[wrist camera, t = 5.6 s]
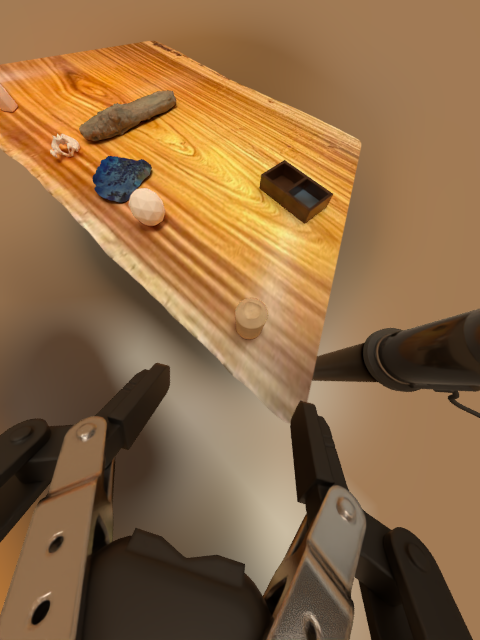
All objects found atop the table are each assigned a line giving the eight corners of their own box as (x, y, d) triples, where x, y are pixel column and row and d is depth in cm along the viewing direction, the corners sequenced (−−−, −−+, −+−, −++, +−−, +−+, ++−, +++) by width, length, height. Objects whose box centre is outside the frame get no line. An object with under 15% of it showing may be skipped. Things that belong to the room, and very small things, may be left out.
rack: (326, 206, 49) (333, 194, 45) (304, 223, 47) (309, 211, 43) (281, 174, 53) (284, 160, 49) (259, 188, 51) (261, 174, 47)
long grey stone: (185, 113, 64) (169, 104, 67) (180, 90, 59) (163, 81, 62) (94, 148, 55) (79, 136, 57) (80, 124, 50) (65, 112, 52)
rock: (157, 168, 53) (153, 161, 51) (123, 208, 48) (118, 201, 46) (116, 156, 55) (112, 148, 53) (80, 193, 50) (74, 186, 48)
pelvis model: (44, 148, 50) (40, 133, 51) (59, 165, 54) (54, 150, 55) (74, 141, 51) (68, 125, 52) (86, 157, 55) (80, 143, 56)
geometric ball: (159, 223, 50) (157, 188, 45) (170, 231, 45) (169, 194, 41) (128, 220, 45) (122, 181, 41) (137, 228, 41) (132, 186, 36)
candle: (232, 320, 38) (230, 300, 29) (255, 311, 39) (261, 289, 29) (241, 343, 36) (242, 331, 27) (265, 334, 37) (275, 318, 28)
